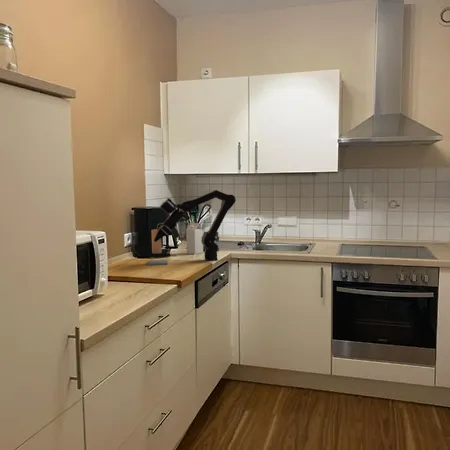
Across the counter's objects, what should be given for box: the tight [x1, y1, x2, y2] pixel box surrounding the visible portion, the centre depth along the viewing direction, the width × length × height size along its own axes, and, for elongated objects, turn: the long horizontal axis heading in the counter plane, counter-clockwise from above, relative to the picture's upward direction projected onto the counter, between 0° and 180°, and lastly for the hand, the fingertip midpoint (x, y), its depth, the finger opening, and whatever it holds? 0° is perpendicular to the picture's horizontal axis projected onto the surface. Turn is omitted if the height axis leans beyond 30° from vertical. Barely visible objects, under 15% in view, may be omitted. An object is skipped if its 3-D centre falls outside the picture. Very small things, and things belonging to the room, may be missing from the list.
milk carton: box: [185, 222, 204, 255], centre depth 288 cm, size 7×7×19 cm
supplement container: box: [203, 231, 220, 252], centre depth 300 cm, size 10×10×12 cm
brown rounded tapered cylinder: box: [150, 228, 162, 255], centre depth 253 cm, size 5×5×12 cm
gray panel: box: [145, 259, 168, 266], centre depth 254 cm, size 11×11×1 cm
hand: (153, 240), depth 253 cm, fingers closed on brown rounded tapered cylinder, 5 cm apart
